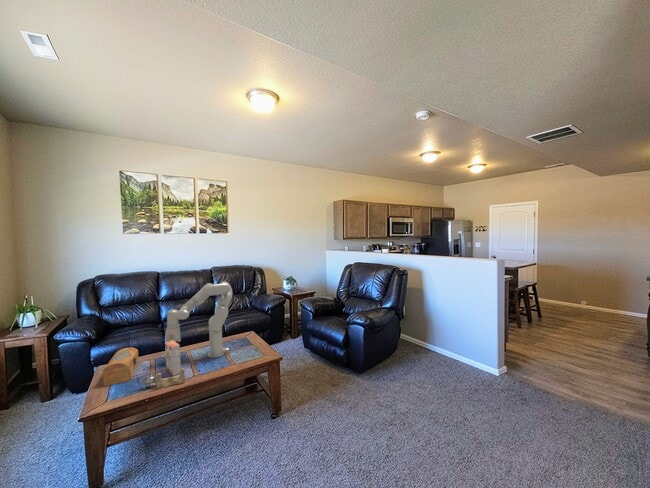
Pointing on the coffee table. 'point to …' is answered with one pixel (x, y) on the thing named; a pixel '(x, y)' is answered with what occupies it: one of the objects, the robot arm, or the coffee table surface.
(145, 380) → the winch
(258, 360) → the coffee table surface
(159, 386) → the bay
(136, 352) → the wooden box
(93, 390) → the coffee table surface
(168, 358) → the cracker box
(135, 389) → the coffee table surface
